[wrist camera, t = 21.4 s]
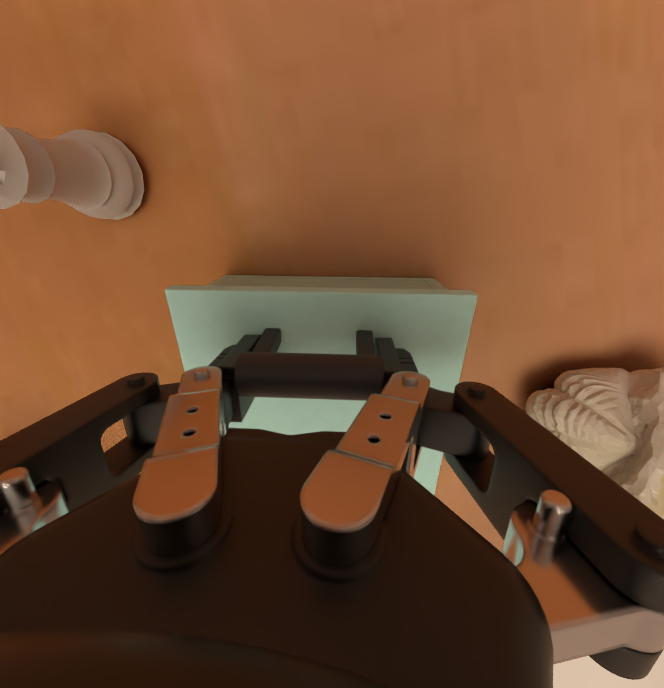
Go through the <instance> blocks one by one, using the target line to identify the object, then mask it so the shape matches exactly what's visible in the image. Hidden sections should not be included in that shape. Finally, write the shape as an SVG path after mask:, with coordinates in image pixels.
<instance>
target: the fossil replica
mask: <svg viewBox="0 0 664 688" xmlns="http://www.w3.org/2000/svg"><path fill="white" fill-rule="evenodd" d="M525 410H526V413H527V414H528V415H529V416H530V417H531V418H533V419H534V420H535V421H537V422H538V423H539V424H541V425H542V426H543V427H544V428H546V429H547V430H548V431H550V432H551V433H552V434H554V435H555V436H556V437H557V438H559V439H560V440H561V441H563V442H564V443H565V444H566V445H568V446H569V447H570V448H572V449H573V450H574V451H576V452H577V453H578V454H579V455H581V456H582V457H583V458H585V459H586V460H587V461H589V462H590V463H591V464H592V465H594V466H595V467H596V468H598V469H599V470H600V471H602V472H603V473H604V474H605V475H607V476H608V477H609V478H611V479H612V480H613V481H615V482H616V483H617V484H618V485H620V486H621V487H622V488H624V489H625V490H626V491H627V492H629V493H630V494H631V495H633V496H634V497H635V498H637V499H638V500H639V501H640V502H642V503H643V504H644V505H646V506H647V507H648V508H650V509H651V510H652V511H653V512H655V513H656V514H657V515H659V516H660V517H661V518H663V519H664V367H661V368H656V369H641V370H636V371H632V372H628V371H626V370H624V369H622V368H612V367H611V368H587V369H579V370H570V371H566V372H564V373H562V374H561V375H560V376H559V377H558V378H557V379H556V380H555V382H554V389H550V388H548V389H545V390H537V391H535V392H534V393H532V394H531V395H530V396H529V397H528V400H527V403H526V408H525Z"/></svg>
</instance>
